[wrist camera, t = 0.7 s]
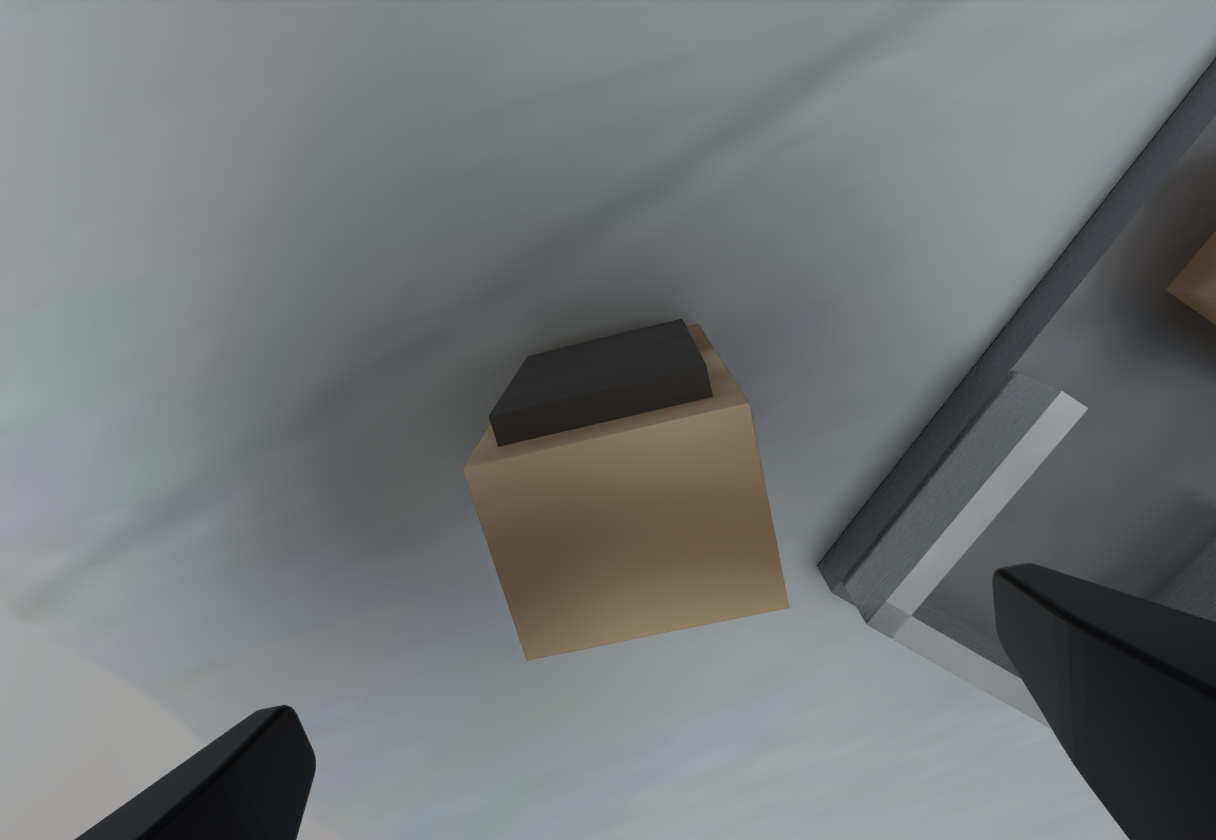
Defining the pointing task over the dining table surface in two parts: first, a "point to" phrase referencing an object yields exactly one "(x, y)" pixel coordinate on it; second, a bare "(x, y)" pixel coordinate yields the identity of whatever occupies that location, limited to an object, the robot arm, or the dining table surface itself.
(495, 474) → the block
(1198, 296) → the block
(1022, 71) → the dining table surface
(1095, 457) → the rail
